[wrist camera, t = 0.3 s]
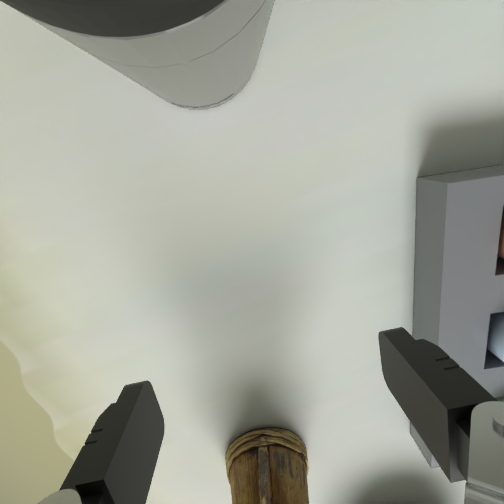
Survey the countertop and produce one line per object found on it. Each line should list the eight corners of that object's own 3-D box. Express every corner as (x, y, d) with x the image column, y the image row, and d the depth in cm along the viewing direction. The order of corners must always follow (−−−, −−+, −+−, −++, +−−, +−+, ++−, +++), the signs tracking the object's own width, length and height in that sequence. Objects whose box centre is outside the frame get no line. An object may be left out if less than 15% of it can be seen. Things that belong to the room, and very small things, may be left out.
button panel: (416, 177, 26) (447, 183, 22) (585, 152, 26) (644, 153, 22) (410, 433, 35) (431, 468, 32) (535, 414, 35) (570, 446, 32)
